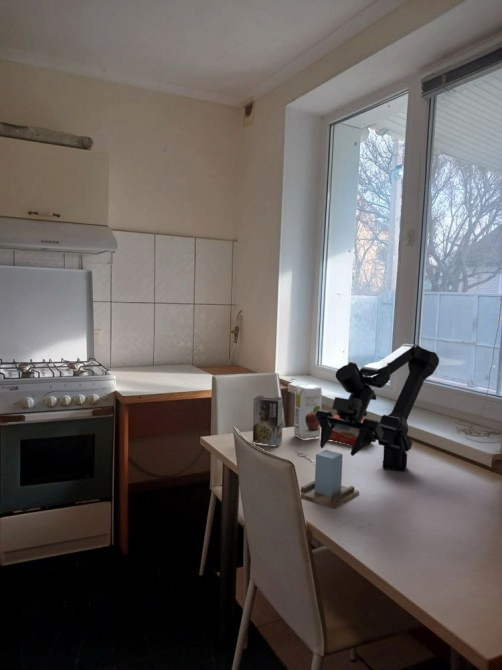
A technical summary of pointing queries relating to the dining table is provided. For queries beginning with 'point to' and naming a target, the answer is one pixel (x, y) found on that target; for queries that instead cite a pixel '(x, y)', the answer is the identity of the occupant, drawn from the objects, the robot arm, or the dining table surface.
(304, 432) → the juice carton
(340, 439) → the medicine box
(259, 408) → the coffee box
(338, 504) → the walnut groove board
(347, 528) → the dining table surface
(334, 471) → the slate-blue block
